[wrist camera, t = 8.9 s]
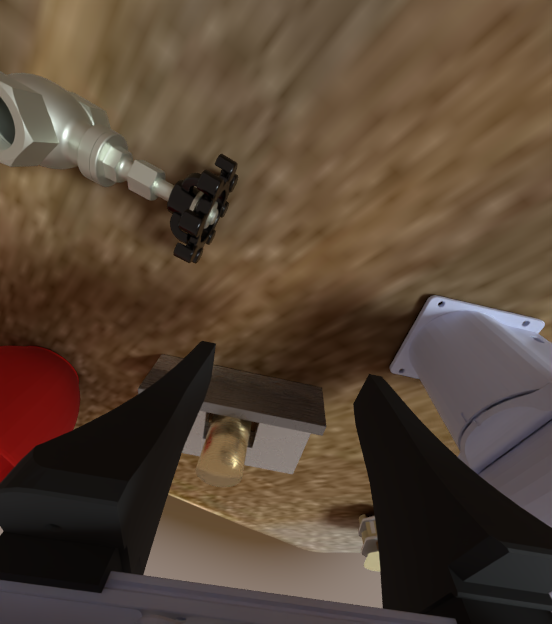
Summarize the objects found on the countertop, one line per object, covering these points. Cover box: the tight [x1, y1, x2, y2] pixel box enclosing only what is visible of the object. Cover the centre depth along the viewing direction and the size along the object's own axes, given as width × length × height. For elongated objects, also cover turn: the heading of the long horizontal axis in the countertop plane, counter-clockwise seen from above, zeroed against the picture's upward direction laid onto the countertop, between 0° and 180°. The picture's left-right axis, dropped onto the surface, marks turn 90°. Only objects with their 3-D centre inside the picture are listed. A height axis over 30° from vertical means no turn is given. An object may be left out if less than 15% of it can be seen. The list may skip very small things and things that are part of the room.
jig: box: [138, 354, 326, 474], centre depth 27 cm, size 16×12×4 cm
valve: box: [0, 71, 238, 263], centre depth 15 cm, size 7×7×12 cm
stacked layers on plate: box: [358, 514, 380, 571], centre depth 36 cm, size 10×9×6 cm
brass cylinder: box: [196, 414, 252, 487], centre depth 26 cm, size 4×4×7 cm
